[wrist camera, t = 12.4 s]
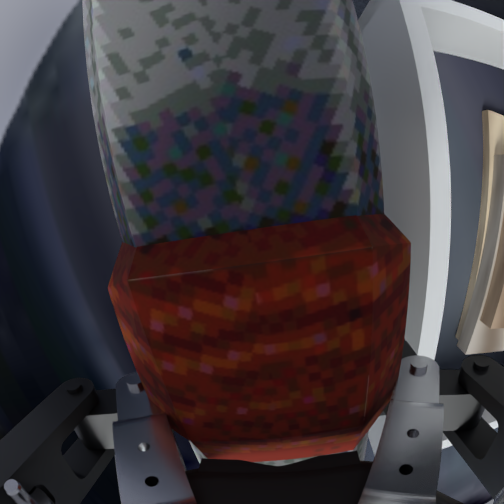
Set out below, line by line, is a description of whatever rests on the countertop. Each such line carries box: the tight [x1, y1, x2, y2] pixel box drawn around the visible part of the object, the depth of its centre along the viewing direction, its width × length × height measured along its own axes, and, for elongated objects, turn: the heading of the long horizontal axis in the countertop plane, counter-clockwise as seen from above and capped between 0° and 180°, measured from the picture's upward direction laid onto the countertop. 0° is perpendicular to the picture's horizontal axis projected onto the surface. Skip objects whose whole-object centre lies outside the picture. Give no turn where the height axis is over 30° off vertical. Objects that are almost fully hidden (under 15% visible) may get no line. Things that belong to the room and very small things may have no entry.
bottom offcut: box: [455, 110, 504, 340], centre depth 25 cm, size 7×24×2 cm, turn 178°
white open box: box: [358, 0, 504, 456], centre depth 20 cm, size 22×40×10 cm, turn 5°
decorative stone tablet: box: [83, 0, 411, 466], centre depth 16 cm, size 19×6×30 cm
